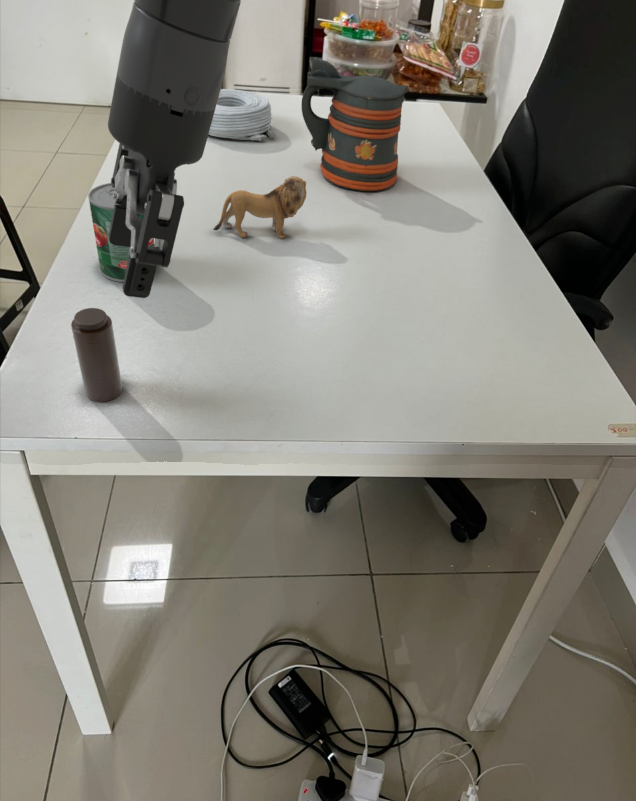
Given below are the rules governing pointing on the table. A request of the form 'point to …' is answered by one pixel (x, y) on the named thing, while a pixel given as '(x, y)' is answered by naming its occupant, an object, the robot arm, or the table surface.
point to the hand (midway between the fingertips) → (127, 268)
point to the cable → (241, 116)
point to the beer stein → (355, 127)
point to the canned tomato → (109, 255)
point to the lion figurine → (265, 205)
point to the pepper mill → (97, 354)
